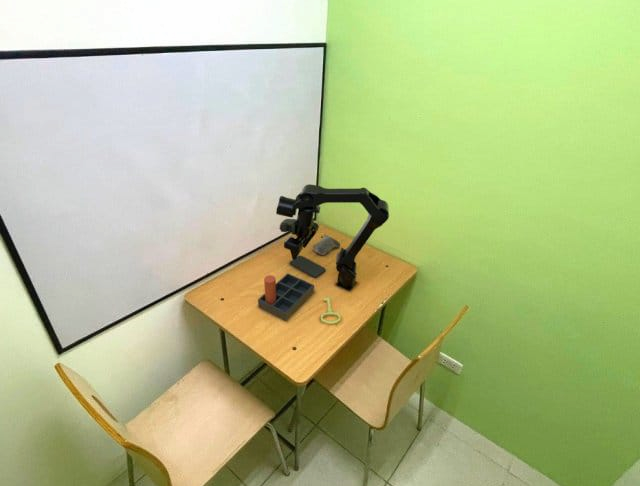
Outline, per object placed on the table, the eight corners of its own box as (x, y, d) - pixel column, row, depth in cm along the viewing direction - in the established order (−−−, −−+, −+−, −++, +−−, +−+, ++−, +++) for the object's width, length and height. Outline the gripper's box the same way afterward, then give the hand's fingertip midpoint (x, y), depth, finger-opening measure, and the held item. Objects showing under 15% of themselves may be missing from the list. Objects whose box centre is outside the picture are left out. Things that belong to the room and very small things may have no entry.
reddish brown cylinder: (277, 301, 140) (276, 276, 132) (274, 308, 137) (273, 283, 129) (267, 299, 140) (266, 274, 132) (264, 307, 137) (262, 281, 129)
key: (328, 299, 143) (329, 295, 142) (342, 322, 134) (343, 318, 133) (311, 304, 141) (311, 300, 139) (324, 327, 132) (324, 323, 131)
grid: (313, 292, 146) (314, 285, 143) (285, 321, 133) (285, 313, 131) (287, 280, 151) (287, 273, 148) (258, 307, 138) (257, 299, 135)
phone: (300, 254, 163) (326, 268, 156) (300, 256, 164) (326, 270, 157) (288, 262, 159) (315, 277, 151) (288, 263, 159) (315, 278, 152)
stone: (308, 252, 171) (322, 262, 165) (306, 244, 167) (320, 253, 161) (328, 238, 175) (342, 247, 169) (326, 230, 172) (341, 238, 165)
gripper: (296, 201, 142) (291, 234, 152) (272, 223, 129) (268, 257, 138) (322, 211, 140) (315, 244, 150) (301, 234, 126) (295, 269, 136)
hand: (298, 253), depth 144 cm, fingers open, 9 cm apart
